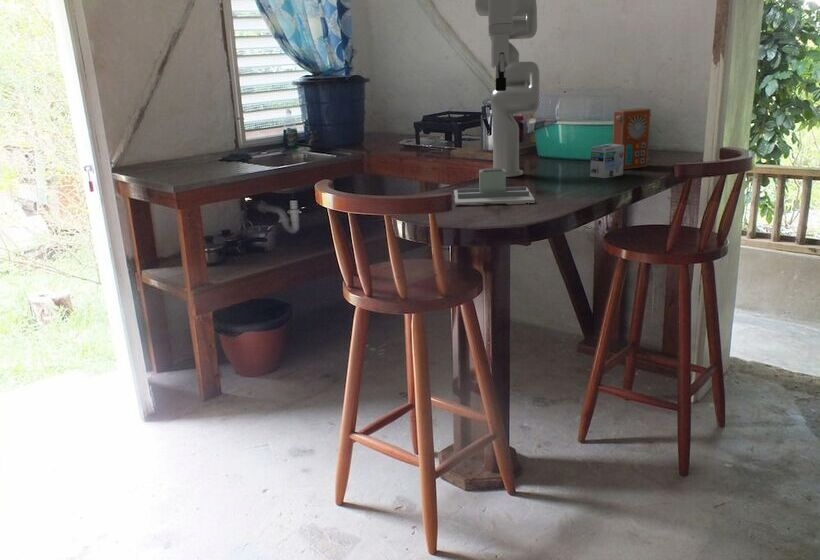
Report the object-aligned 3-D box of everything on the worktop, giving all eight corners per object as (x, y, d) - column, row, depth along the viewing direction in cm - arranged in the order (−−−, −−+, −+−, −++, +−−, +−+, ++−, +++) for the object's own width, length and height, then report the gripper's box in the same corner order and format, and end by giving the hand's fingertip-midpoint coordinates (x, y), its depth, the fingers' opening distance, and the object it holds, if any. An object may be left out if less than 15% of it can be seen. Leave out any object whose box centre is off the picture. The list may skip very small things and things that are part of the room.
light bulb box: (604, 178, 242) (605, 147, 239) (589, 176, 248) (590, 146, 244) (623, 174, 248) (625, 144, 245) (608, 172, 254) (609, 143, 250)
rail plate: (454, 193, 229) (453, 185, 229) (526, 190, 228) (527, 183, 227) (455, 206, 210) (454, 197, 210) (534, 203, 209) (534, 195, 208)
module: (479, 191, 221) (479, 168, 219) (504, 190, 221) (504, 167, 219) (480, 194, 217) (479, 171, 214) (505, 193, 216) (505, 170, 214)
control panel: (651, 166, 262) (618, 170, 257) (639, 164, 268) (607, 168, 263) (654, 108, 255) (621, 111, 250) (642, 107, 262) (609, 110, 256)
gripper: (487, 31, 225) (487, 90, 231) (490, 30, 211) (490, 92, 216) (510, 30, 224) (510, 89, 230) (514, 29, 210) (514, 91, 216)
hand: (500, 90), depth 223 cm, fingers closed
